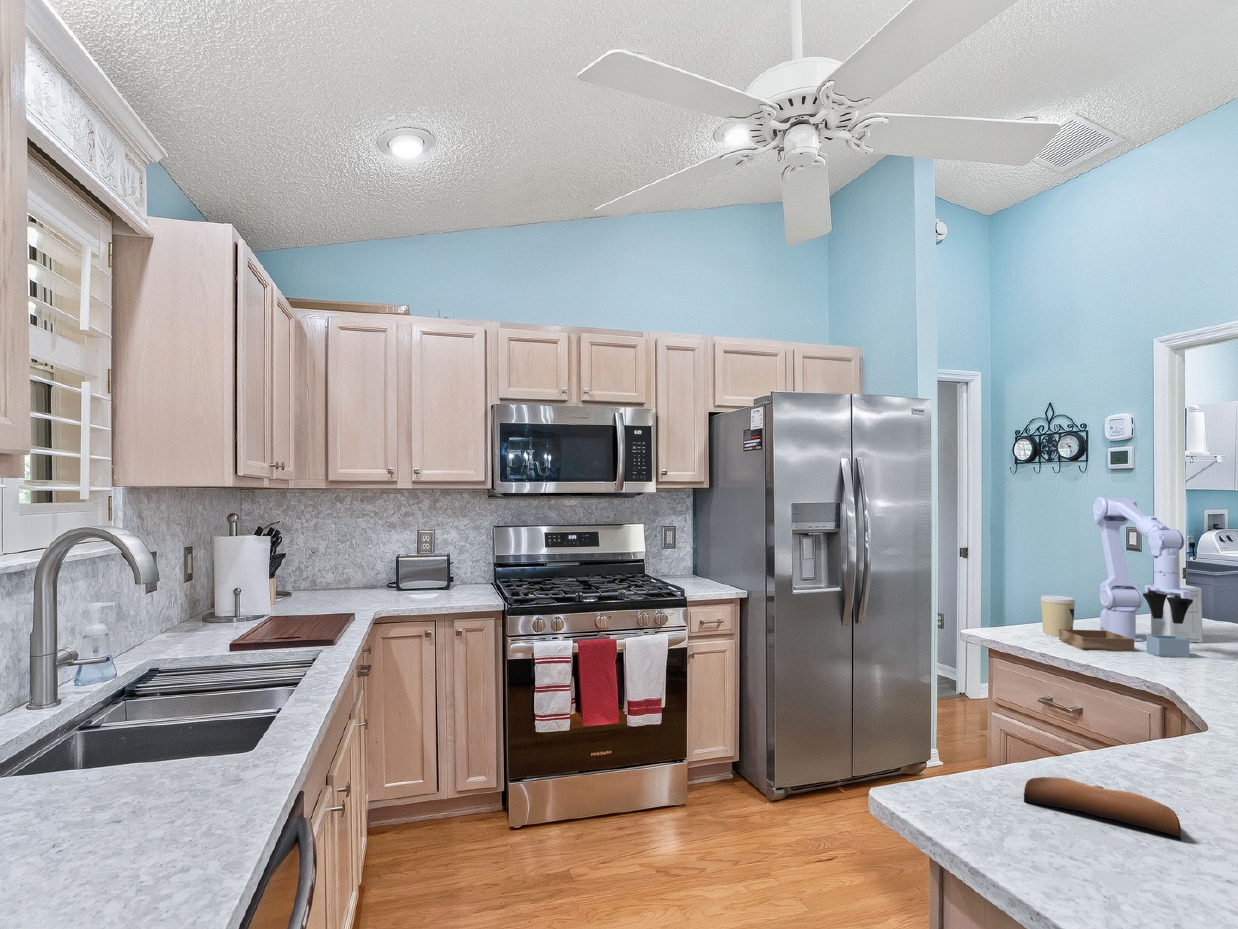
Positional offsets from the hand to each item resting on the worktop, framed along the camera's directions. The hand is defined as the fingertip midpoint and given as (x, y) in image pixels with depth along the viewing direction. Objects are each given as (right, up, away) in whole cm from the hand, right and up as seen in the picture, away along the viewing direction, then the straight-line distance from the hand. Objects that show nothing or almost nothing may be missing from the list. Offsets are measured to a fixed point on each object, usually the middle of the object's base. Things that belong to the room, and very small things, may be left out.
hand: (1167, 621), depth 192 cm
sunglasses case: (-86, -6, -94) cm, 128 cm away
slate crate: (0, -10, 0) cm, 10 cm away
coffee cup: (-16, -10, +24) cm, 30 cm away
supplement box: (+19, -11, +21) cm, 30 cm away
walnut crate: (-14, -10, +10) cm, 19 cm away
